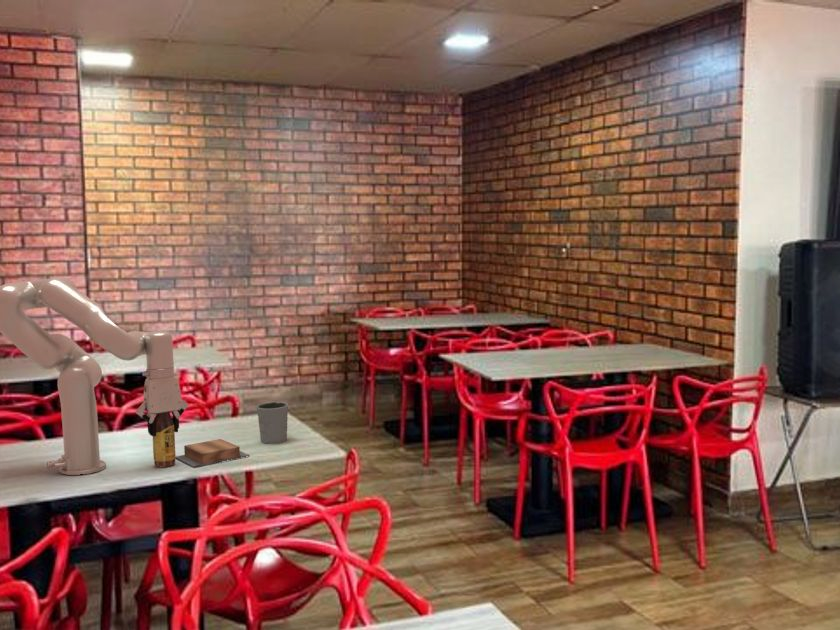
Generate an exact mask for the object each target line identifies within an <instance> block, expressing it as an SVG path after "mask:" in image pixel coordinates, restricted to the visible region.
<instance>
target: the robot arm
mask: <svg viewBox="0 0 840 630" xmlns="http://www.w3.org/2000/svg"><path fill="white" fill-rule="evenodd" d="M42 308H43V309H44V308H49V309H51V310H52V311H54V312H55V313H56V314H58V315H60V317H63V318H64V319H66V320H67V321H69V322H70V323H72V324H73V325H74V326H75V327H78V328H79V329H80V330H81V331H82V332H83V333H84V334H85V335H86V336H87V337H89V338H90V339H91V340H92V341H93V342H94V343H96V345H98V346H100V347H101V348H102V349H103V350H105V351H107V352H108V353H110V354H111V355H113V356H114V357H116V358H118V359H120V360H123V361H133V360H135V359H137V358H138V357H141V356H144V355H145V356H146V371H145V370H144V371H143V372H142V373H141V374H142V376H143V377H146V379H145V381H144V387H143V388H144V389H143V402H142V403H141V405H140V406H139V407H138V408H137V409H136V410H135V413H136V414H137V415H138V416H139V417H140V418H141V419H143V420H144V421H145V422H146V423H147V432H148V434H149V435H150V436H151V437H153V436H156V429H155V423H154V418H155V416H156V414H159V413H165V412H169V413H170V414H171V418H172V421H173V423H174V432H175V433H179V429H180V419H181V416H182V415H183V414H184V412H185V411H186V409H187V408H188V407H189V403H188V402H186V400H184V399H183V398H182V394H181V393H182V392H181V388H180V383H179V379H178V376H175V366H174V344H173V335H172V333H171V332H170V331H167V330H166V331H165V330H158V331H157V330H155V331H151V332H150V331H149V332H148V331H138V330H131V331H128V332H127V331H125V329H122V328H121V327H119V326H118V325H117V324H115V323H114V322H112V320H111V319H110V318H108V317H107V314H106V313H105V311H104V310H103V307H102V306H101V305H100V304H99V303H97V302H96V301H94V300H93V299H91V298H90V297H89V296H87V295H85V294H84V293H82V292H81V291H79V290H78V288H77V285H76V283H75V282H74V281H73V280H71V279H70V278H69V277H65V276H55V277H51V278H42V279H34V280H33V279H32V280H23V281H21V280H20V281H15V282H9V283H5V284H2V285H0V334H2V336H4V337H5V338H6V339H7V340H9V341H10V342H11V343H12V344H13V345H14V346H15V347H16V348H17V349H18V350H19V351H20V352H22V353H23V355H25V356H26V357H27V358H29V360H31V362H33V363H34V364H35V365H36V366H37V367H39V368H40V369H42V370H45V371H46V370H54V369H56V370H57V371H58V372H59V374H58V378H57V389H58V390H57V391H58V395H59V401H60V409H61V410H60V411H61V424H62V438H63V439H62V440H63V454H62V455H61V456H60V458H58V459H57V460H49V461H47V462H46V468H47V469H51V468H53V469H59V473H60V474H62V475H65V474H66V476H81V475H80V474H83V475H89V474H93V473H97V472H100V471H103V470H104V469H105V468H107V467H106V466H107V462H105V461H104V460H102V459H101V457H100V456H101V455H100V439H99V421H98V408H97V407H98V406H97V399H96V394H95V387H97V385H99V383H100V382H101V379H102V377H103V376H102V375H103V373H102V372H103V371H102V368H101V365H100V364H99V362H97V361H96V360H95V359H94V357H92V356H91V355H90V354H89V353H88V352H86V351H85V349H83V348H82V347H81V346H80V345H78V343H76V342H75V341H74V340H73V339H71V338H70V337H68V336H66V335H64V334H60V333H52V334H51V333H49V332H48V331H47V330H45V329H44V328H43V327H42V326H41V325H40V324H39V323H37V321H35V320H34V319H32V318H30V316H28V315H26V313H24V311H27V310H34V309H35V310H36V309H42ZM144 411H145V412H147V414H146V413H144Z"/></svg>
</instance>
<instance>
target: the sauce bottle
mask: <svg viewBox="0 0 840 630" xmlns="http://www.w3.org/2000/svg"><path fill="white" fill-rule="evenodd" d="M172 418H173V417H172V415H171V412H165V413H159V414H156V415H155V418H154V423H155V429H156V436H152V449H153V450H152V452H153V455H152V457H153V461H154V462H153V463H154V466H155V467H156V468H166V467H171V466H173V465H175V463H176V459H175V458H176V456H177V455H176V454H177V453H176V438H175V437H176V436H175V433H176V432H174V423H173V421H172Z"/></svg>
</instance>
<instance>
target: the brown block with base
mask: <svg viewBox="0 0 840 630" xmlns="http://www.w3.org/2000/svg"><path fill="white" fill-rule="evenodd" d="M183 448H184V454H183V455H176V458H175V460H177V461H180V462H181V463H182V464H183V463H184V464H185V465H187V466H189V467H191V468H193V469H197V468H200V467H205V466H211V465H216V464H220V463H219V462H221V463H223V462H222V461H226V462H228V461H227V460H230V461H232V460H231V459H235V460H237V459H236V458H240V459H242V458H241V457H245V458H247V457H246V456H250V454H248V453H246V452H243V451H241V450H240V446H239V445H236V444H234V443H231V442H229V441H227V440H225V439H222V438H219V439H218V438H217V439H213V440H207V441H201V442H198V443H197V442H196V443H191V444H186V445H184V447H183ZM215 463H216V464H215Z"/></svg>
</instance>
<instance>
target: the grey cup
mask: <svg viewBox="0 0 840 630" xmlns="http://www.w3.org/2000/svg"><path fill="white" fill-rule="evenodd" d="M256 411H257V419H258V421H257V422H258V427H259V428H258V429H259V437H260V442H261V443H262V444H267V445H275V444H276V445H277V444H282V443H286V442H287V440H288V415H289V413H288V411H289V404H288V403H287V402H283V401H267V402H263V403H260V404H259V403H258V405H257V406H256Z"/></svg>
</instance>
